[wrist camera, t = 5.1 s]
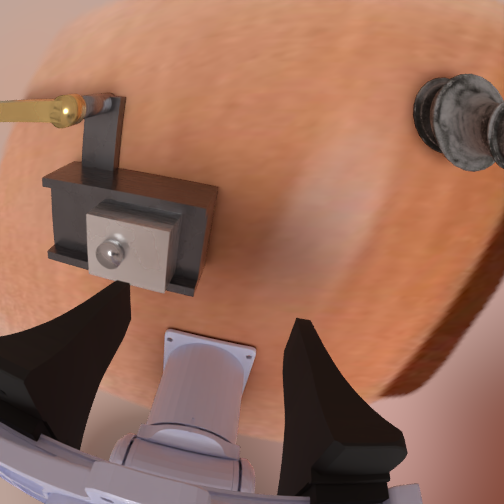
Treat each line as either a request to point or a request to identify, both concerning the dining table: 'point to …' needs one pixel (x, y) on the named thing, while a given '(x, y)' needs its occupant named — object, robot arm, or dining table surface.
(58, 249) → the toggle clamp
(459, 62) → the dining table surface
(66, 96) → the lever
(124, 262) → the knobbed drawer block
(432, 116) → the grey tall flared piece
